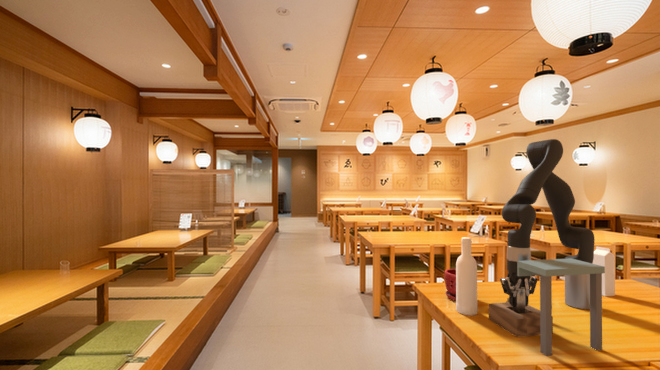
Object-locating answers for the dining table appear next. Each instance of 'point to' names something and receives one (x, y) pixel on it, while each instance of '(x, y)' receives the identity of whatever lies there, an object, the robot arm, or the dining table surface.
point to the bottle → (466, 280)
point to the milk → (606, 269)
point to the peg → (520, 301)
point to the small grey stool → (546, 271)
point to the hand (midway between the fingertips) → (518, 305)
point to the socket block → (516, 319)
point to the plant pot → (450, 283)
